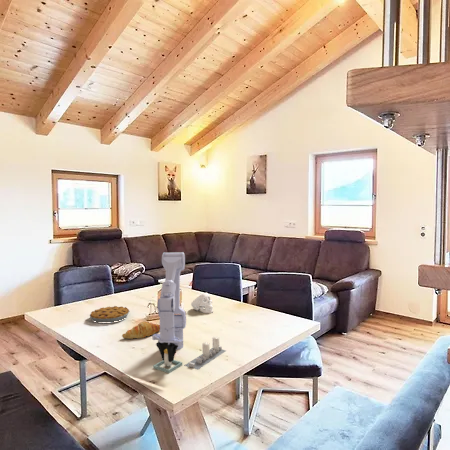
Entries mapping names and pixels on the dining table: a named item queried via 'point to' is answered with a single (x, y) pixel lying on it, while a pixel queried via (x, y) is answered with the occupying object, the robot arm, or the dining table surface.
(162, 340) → the robot arm
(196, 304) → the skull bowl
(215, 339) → the fuse far
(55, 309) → the dining table surface
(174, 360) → the tray
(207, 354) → the fuse middle
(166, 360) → the cylinder
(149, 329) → the croissant
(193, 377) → the dining table surface
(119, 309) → the pie
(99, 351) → the dining table surface
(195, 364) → the fuse panel
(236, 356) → the dining table surface
